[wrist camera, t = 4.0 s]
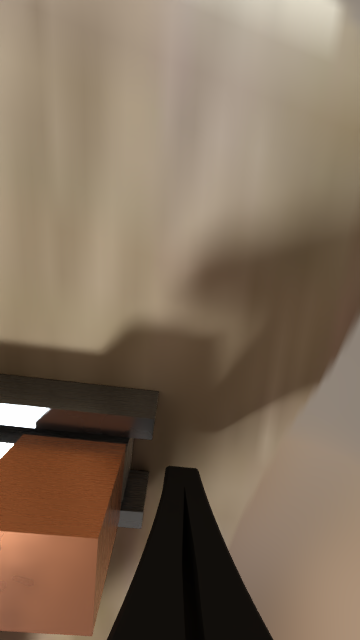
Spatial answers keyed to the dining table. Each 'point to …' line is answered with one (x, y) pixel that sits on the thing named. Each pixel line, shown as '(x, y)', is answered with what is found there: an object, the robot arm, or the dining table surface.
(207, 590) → the robot arm
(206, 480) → the dining table surface
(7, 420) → the socket
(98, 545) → the orange block
